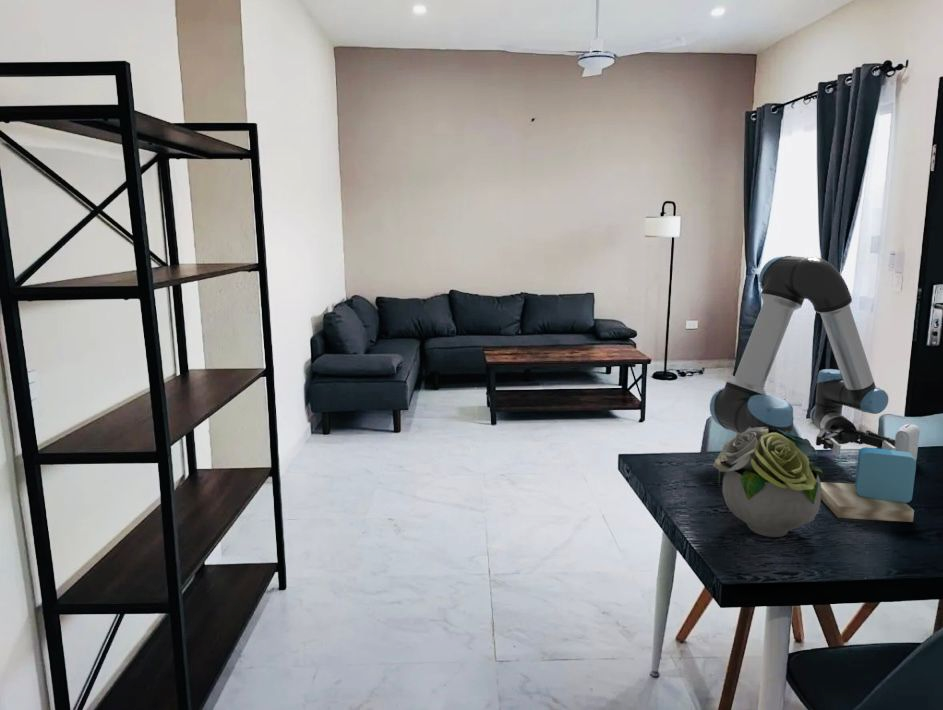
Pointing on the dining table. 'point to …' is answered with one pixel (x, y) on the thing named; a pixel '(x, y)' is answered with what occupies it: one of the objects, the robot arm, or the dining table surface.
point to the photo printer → (908, 439)
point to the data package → (885, 474)
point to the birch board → (862, 504)
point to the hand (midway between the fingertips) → (866, 451)
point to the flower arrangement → (770, 480)
